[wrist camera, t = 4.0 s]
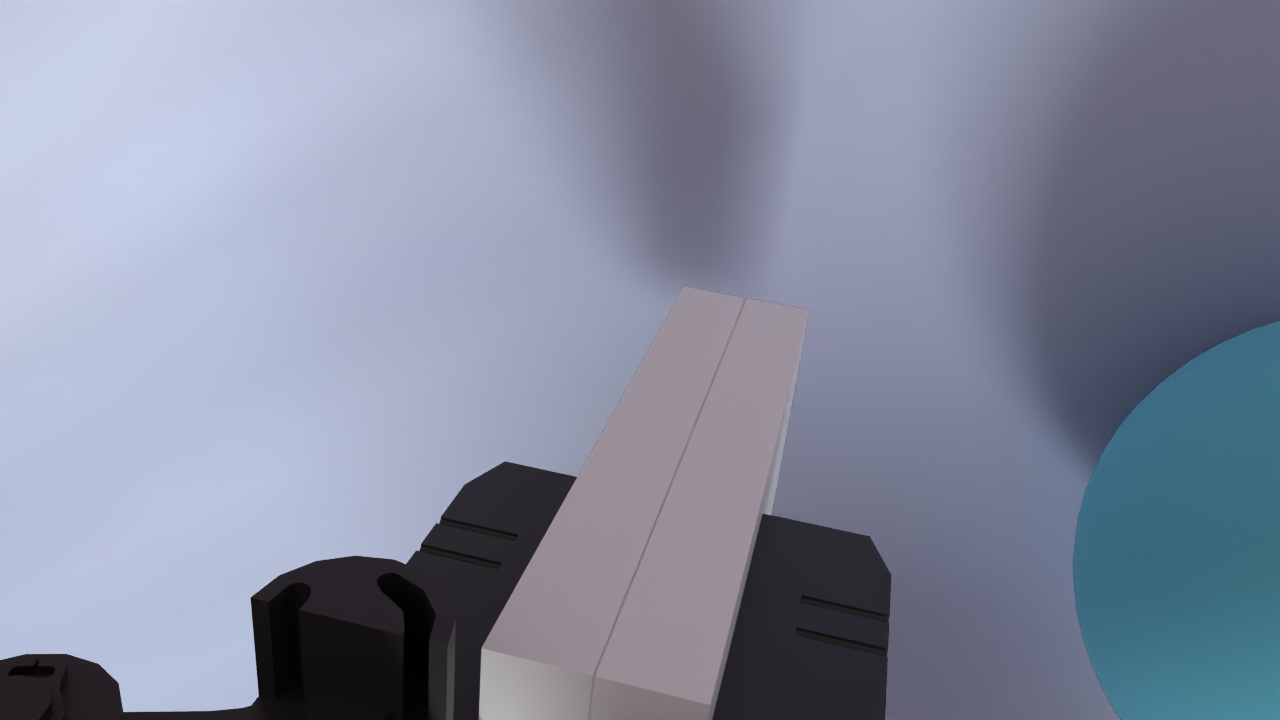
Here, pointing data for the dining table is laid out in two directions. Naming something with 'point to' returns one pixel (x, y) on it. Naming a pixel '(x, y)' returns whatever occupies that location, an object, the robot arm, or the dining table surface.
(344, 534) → the dining table surface
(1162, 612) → the ball
